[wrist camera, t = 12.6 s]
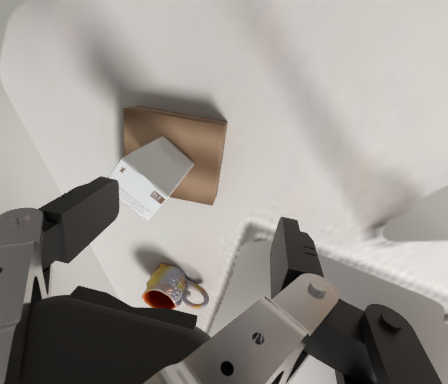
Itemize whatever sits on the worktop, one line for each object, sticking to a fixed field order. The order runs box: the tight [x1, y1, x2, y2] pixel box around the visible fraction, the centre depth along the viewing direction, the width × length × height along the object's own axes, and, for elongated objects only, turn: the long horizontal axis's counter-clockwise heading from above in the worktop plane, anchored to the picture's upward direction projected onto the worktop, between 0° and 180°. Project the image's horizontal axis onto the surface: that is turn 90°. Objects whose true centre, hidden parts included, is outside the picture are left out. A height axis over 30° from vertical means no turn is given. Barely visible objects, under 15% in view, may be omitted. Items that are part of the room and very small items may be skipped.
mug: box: [142, 263, 209, 310], centre depth 47 cm, size 12×7×7 cm, turn 74°
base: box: [124, 106, 228, 205], centre depth 38 cm, size 12×14×4 cm
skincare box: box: [108, 136, 194, 221], centre depth 31 cm, size 6×4×12 cm
